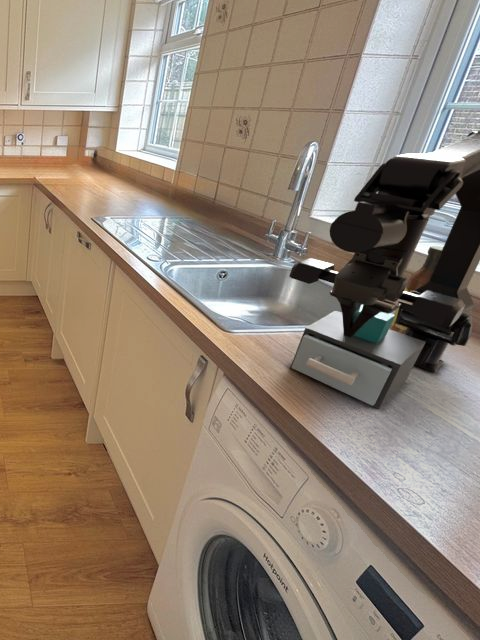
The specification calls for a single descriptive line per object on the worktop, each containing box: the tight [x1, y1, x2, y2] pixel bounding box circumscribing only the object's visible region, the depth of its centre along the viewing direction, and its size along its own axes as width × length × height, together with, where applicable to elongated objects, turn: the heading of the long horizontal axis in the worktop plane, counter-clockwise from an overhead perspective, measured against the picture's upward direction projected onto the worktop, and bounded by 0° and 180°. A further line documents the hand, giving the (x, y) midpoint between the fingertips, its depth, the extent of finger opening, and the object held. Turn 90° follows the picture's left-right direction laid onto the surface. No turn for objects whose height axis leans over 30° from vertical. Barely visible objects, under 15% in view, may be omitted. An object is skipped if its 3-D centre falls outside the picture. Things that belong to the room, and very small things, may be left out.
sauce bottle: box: [389, 245, 444, 334], centre depth 86 cm, size 7×6×20 cm
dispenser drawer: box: [291, 334, 392, 407], centre depth 71 cm, size 17×11×7 cm
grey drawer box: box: [290, 310, 425, 410], centre depth 73 cm, size 14×13×9 cm
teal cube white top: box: [354, 304, 395, 344], centre depth 71 cm, size 4×4×4 cm
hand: (348, 336), depth 66 cm, fingers closed
